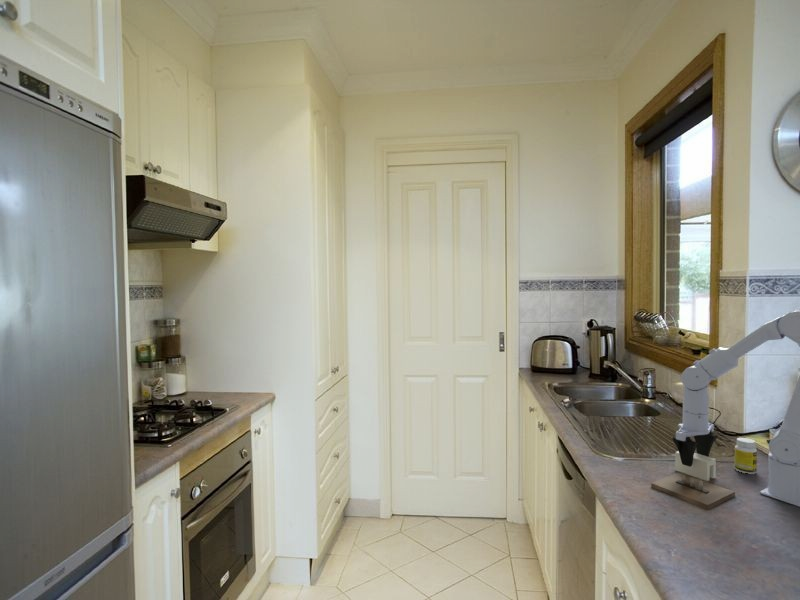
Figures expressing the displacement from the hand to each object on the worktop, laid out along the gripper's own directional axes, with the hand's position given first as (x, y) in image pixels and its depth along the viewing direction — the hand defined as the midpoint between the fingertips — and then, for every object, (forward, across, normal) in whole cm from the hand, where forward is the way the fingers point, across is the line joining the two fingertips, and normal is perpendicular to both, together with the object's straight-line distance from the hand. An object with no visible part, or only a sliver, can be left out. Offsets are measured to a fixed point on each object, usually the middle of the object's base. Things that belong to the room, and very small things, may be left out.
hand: (694, 462), depth 119 cm
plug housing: (+3, 0, 0) cm, 3 cm away
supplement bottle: (+3, -13, +6) cm, 15 cm away
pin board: (+3, +11, +5) cm, 13 cm away
